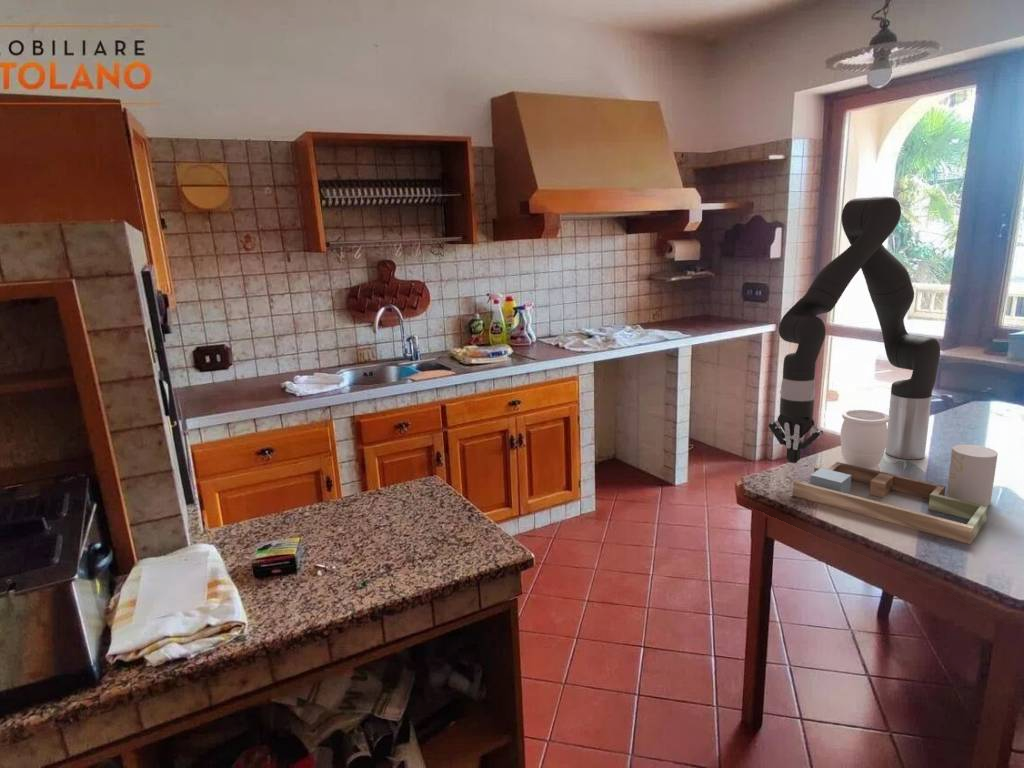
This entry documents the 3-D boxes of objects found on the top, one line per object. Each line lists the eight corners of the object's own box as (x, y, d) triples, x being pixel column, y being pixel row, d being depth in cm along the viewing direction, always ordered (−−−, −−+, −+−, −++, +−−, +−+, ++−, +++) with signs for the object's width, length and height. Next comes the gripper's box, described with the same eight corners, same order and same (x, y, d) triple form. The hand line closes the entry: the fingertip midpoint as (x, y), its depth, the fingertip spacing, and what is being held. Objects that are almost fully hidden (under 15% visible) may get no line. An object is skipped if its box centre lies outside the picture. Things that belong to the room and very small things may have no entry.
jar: (877, 462, 160) (882, 409, 157) (890, 477, 151) (895, 421, 147) (834, 460, 163) (837, 408, 159) (843, 475, 153) (847, 420, 150)
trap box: (825, 471, 156) (825, 459, 155) (992, 511, 130) (994, 496, 130) (792, 495, 144) (793, 482, 143) (970, 544, 118) (972, 528, 117)
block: (819, 486, 148) (821, 467, 147) (849, 494, 143) (851, 475, 142) (809, 494, 145) (810, 475, 144) (839, 502, 140) (841, 482, 138)
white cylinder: (947, 489, 142) (953, 442, 139) (991, 496, 137) (998, 448, 134) (944, 501, 136) (950, 453, 133) (990, 510, 131) (997, 459, 128)
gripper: (832, 396, 142) (826, 464, 146) (777, 388, 152) (774, 452, 156) (819, 403, 138) (813, 473, 142) (763, 394, 147) (760, 459, 151)
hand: (792, 461), depth 149 cm, fingers closed
